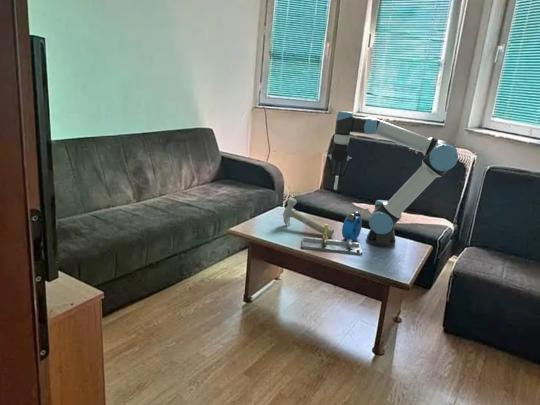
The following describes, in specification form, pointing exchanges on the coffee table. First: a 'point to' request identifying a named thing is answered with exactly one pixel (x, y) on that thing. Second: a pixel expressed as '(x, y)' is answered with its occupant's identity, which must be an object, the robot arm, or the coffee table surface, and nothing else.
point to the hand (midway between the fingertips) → (335, 188)
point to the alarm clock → (352, 226)
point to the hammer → (303, 218)
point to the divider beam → (333, 241)
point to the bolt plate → (331, 247)
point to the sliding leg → (325, 235)
